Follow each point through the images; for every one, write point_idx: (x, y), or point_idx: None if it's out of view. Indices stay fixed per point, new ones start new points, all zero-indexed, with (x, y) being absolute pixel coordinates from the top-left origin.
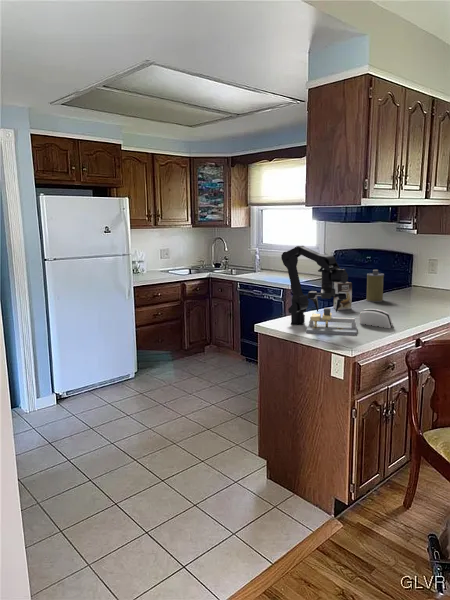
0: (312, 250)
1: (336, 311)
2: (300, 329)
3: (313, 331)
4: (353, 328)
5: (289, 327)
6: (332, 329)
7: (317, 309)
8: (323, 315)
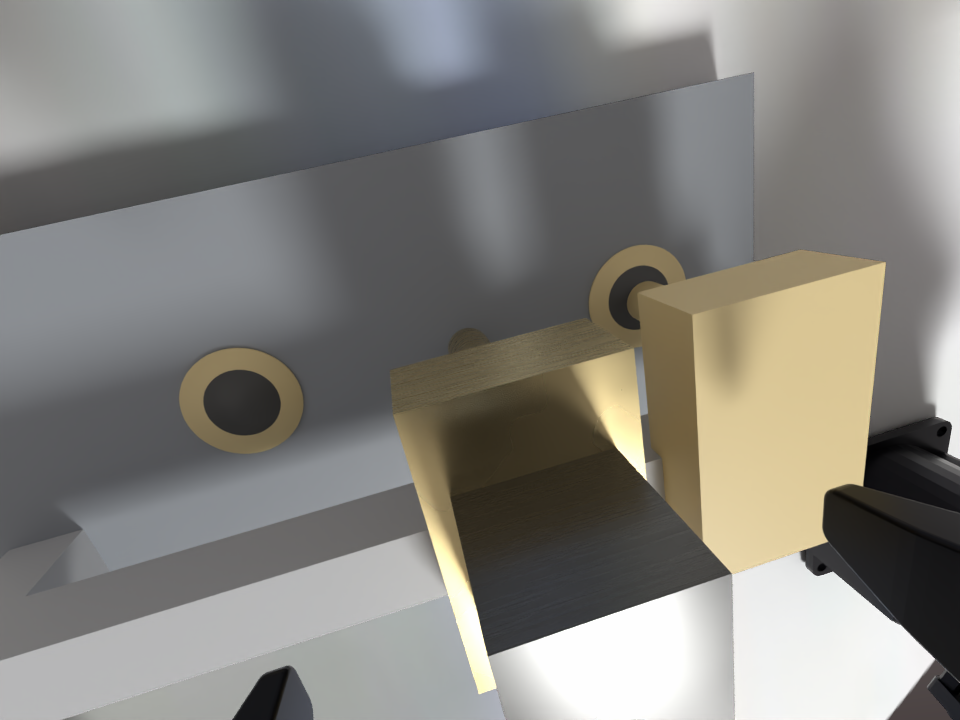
0: None
1: (260, 692)
2: (815, 251)
3: (625, 101)
4: (25, 504)
5: (949, 288)
6: (341, 292)
7: (913, 516)
8: (609, 374)
